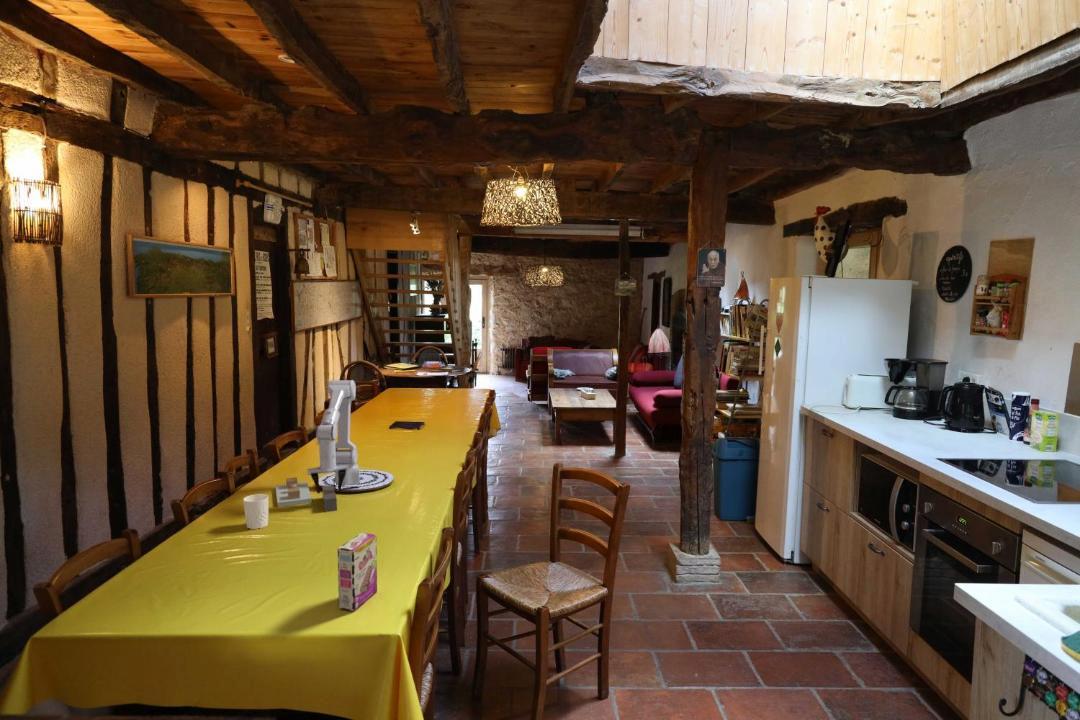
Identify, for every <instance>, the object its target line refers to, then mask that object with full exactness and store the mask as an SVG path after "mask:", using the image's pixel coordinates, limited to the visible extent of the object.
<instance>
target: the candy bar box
mask: <svg viewBox="0 0 1080 720" xmlns="http://www.w3.org/2000/svg"><path fill="white" fill-rule="evenodd" d="M377 550H378V549H377V535H376V534H373V533H366V532H361V533H359V534H357V535H356V536H355V537H353V538H352V539H350V540H348V541H347V542H345V543H343V544H342V545H341V546H339V547H338V548H337V577H338V578H337V580H338V581H337V582H338V584H337V585H338V609H340V610H345V611H349V612H356V611H357V610H358V609H359V608H360V607H361V606H362V605H364V604H365V603H366V602H367V601H368V600H369V599H371V597H373V596H374V595H375V594H376V593H377V592H378V574H377V573H378V571H377V570H378V565H377V563H378V561H377V559H378V558H377V557H378V556H377V553H378V552H377Z"/></svg>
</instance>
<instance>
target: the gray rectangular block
mask: <svg viewBox="0 0 1080 720" xmlns="http://www.w3.org/2000/svg"><path fill="white" fill-rule="evenodd" d="M321 489H322V492H321V493H322V501H323V506H324V511H325V513H328V512H330V513H331V512H335V511H336V512H337V511H338V505H337V504H338V501H337V500H338V499H337V495H336V489H335V487H334V484H330V485H324V486H323V485H322V486H321Z"/></svg>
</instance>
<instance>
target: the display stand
mask: <svg viewBox="0 0 1080 720" xmlns="http://www.w3.org/2000/svg"><path fill="white" fill-rule="evenodd" d="M285 482H286V483H284V484H279V485H275V495H276V502H277V503H276V505H277V507H278V506H280V507H287V506H292V505H301V504H302V505H303V504H308V503H312V500H313V499H312V496H311V492H310V488H309V483H308V481H304V482H298V477H297V476H295V477H288V478H286V479H285ZM286 505H287V506H286Z"/></svg>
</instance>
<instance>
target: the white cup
mask: <svg viewBox="0 0 1080 720" xmlns="http://www.w3.org/2000/svg"><path fill="white" fill-rule="evenodd" d="M242 502H243V508H244V516H245V524H246V528H247V529H248V528H250V529H249V530H259V529H258V528H260V529H263V527H264V528H265V526H266V527H267V526H268V525H269V510H270V509H269V505H270V504H269V495H268V494H265V493H257V494H251V495H250V494H249V495H248V496H247V495H246V496H245V497H244V498H243V501H242Z"/></svg>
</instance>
